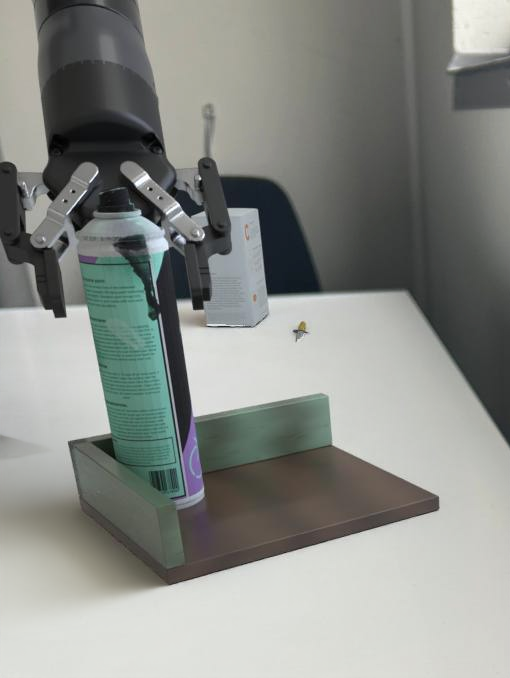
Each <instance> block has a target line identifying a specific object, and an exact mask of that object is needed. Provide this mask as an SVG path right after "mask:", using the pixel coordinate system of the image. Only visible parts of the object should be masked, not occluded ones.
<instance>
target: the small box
mask: <svg viewBox="0 0 510 678" xmlns="http://www.w3.org/2000/svg"><path fill="white" fill-rule="evenodd" d="M227 209H228V213H229V217H230V221H231V242H232V251H231V253H230V254H228V255H219V254H214V255H212V256H211V257H210V258H209V259H208V263H209V269H210V275H211V281H212V297H211V301H203V305H204V310H203V311H204V313H203V314H204V320H205V325H206V324H226V325H243V326H244V325H245V326H254V327H256V326H257V325H258V324H259V323H260V322H261V321H262V320H263V318H264V317H265V316H266V315H267V314H268V313H269V314H270V309H269V300H268V289H267V284H266V283H267V282H266V273H265V264H264V263H265V262H264V254H263V252H264V251H263V245H262V244H263V243H262V235H261V225H260V216H259V209H258V208H253V207H227ZM190 218H191V219H192V220H193V221H194V222H196V223H197V224H198V225H199V226H200V227H201V228H202V227H205V226H207V225H208V222H207V218H206V214H205V210H203V211H201V212H199V213H196V214H194V215H190ZM269 314H268V315H269ZM268 315H267V316H268ZM267 316H266V317H267ZM266 317H265V318H266ZM265 318H264V319H265ZM259 321H260V322H259ZM258 322H259V323H258ZM257 323H258V324H257ZM256 324H257V325H256Z"/></svg>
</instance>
